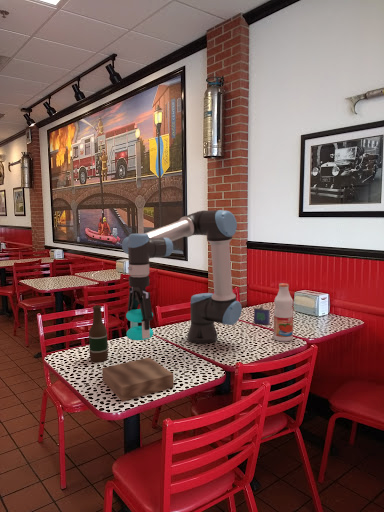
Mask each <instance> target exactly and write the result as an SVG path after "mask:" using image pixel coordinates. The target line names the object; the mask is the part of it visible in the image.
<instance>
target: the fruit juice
mask: <svg viewBox="0 0 384 512" xmlns="http://www.w3.org/2000/svg"><path fill="white" fill-rule="evenodd" d="M289 288H290V284H289V283H284V282H281V283H279V284H278V292H277V295H276V296H275V298H274V301H273V302H274V310H273V339H274V340H275V341H278V342H291V341H292V340H293V338H294V310H293V305H294V300H293V298H292V295H291V293H290V291H289Z"/></svg>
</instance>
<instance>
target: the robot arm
mask: <svg viewBox="0 0 384 512" xmlns="http://www.w3.org/2000/svg"><path fill="white" fill-rule="evenodd" d="M237 223H238V221H237V219H236V216H235V215H234V213H232V212H231V211H229V210H225V209H224V210H223V209H219V210H217V209H216V210H199V211H196V212H193V213H190V214H187V215H185V216H182V217H180V218H179V219H178V220H177V221H174V222H172V223H170V224H167V225H164V226H160V227H158V228H155V229H153V230H150V231H148V232H147V231H146V232H145V233H131V234H128V236H126V237H125V238H124V239H123V240H122V243H121V249H122V250H123V253H125V254H127V256H128V267H127V270H128V286H129V288H128V291H129V292H128V303H127V312H128V311H130V310H134V309H141V313H142V317H143V319H142V320H141V321H142V322H141V326H142V338H143V339H145V338H149V339H151V338H150V328H151V325H150V324H151V323H150V321H152V320H153V319H154V318H153V317H154V315H153V316H152V313H153V310H152V304H151V292H150V291H149V292H147V290H146V289H147V287H149V286H150V276H149V275H150V259H155V258H166V257H169V256H171V255H172V253H173V251H174V243H173V242H174V241H177V240H179V239H182V238H185V237H186V238H189V237H192V236H206V241H207V242H208V243H209V244H210V252H211V253H210V254H211V263H212V264H211V265H212V279H213V281H212V282H213V293H212V292H204V293H203V292H202V293H198V294H197V293H196V294H193V295H191V298H190V306H189V307H190V326H189V330H188V333H187V341H189V342H190V343H194V344H199V345H200V344H201V345H203V344H205V345H206V344H211V343H215V342H217V341H218V332H217V329H216V326H215V323H217V324H221V325H224V326H225V325H228V326H233V325H235V324H236V323H237V322H238V321H239V320H240V318H241V315H242V311H243V309H242V308H243V307H242V304H241V302H240V301H238V300H237V295H236V294H235V293H234V292H233V279H232V266H231V265H232V264H231V262H232V261H231V251H230V250H231V249H230V243H231V241H232V240H233V236H234V235H235V234H236V232H237V229H238V228H237V227H238V226H237V225H238V224H237ZM129 322H130V328H132V327H136V326H139V323H136V322H131V321H129Z"/></svg>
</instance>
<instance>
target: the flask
mask: <svg viewBox="0 0 384 512" xmlns="http://www.w3.org/2000/svg"><path fill="white" fill-rule="evenodd" d="M270 312H271V310H270V308H264V305H260V306H257V307H254V308H253V324H254V325H255V324H256V325H263V326H269V325H271V323H270V316H271V313H270Z"/></svg>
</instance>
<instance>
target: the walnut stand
mask: <svg viewBox="0 0 384 512" xmlns="http://www.w3.org/2000/svg"><path fill="white" fill-rule="evenodd" d="M101 371H102V372H101V374H102V377H101V379H102V382H104V384H105V385H106V386H107V387H108V388H109V389H110V390H111V391H112V392H113V394H115V395H116V396H117V398H119V400H120V401H121V402H126V401H130V400H132V399H136V398H137V399H138V398H141V397H143V396H147V395H151V394H154V393H158V392H161V391H165V390H170V389H172V388H174V379H175V378H174V373H172V372H171V371H170V370H168V369H167V368H166V367H164V366H163V365H161V364H160V363H158V361H156V360H154V359H153V358H151V357H145V358H140V359H137V360H132V361H128V362H122V363H117V364H113V365H108V366H106V367H102V368H101Z"/></svg>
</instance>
